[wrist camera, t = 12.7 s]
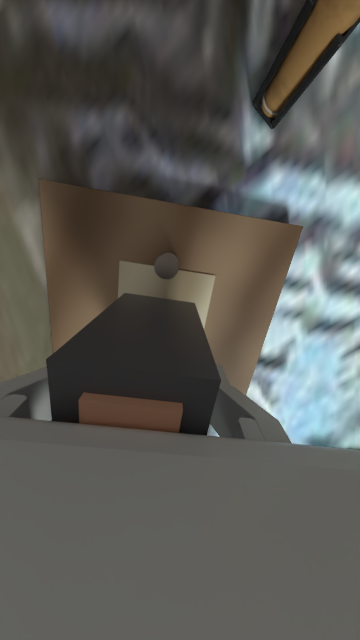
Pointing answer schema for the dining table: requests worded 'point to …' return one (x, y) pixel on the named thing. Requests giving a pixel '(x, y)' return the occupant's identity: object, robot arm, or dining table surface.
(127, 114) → the dining table surface
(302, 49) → the ammunition clip
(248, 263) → the board
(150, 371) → the plug block
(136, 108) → the dining table surface
